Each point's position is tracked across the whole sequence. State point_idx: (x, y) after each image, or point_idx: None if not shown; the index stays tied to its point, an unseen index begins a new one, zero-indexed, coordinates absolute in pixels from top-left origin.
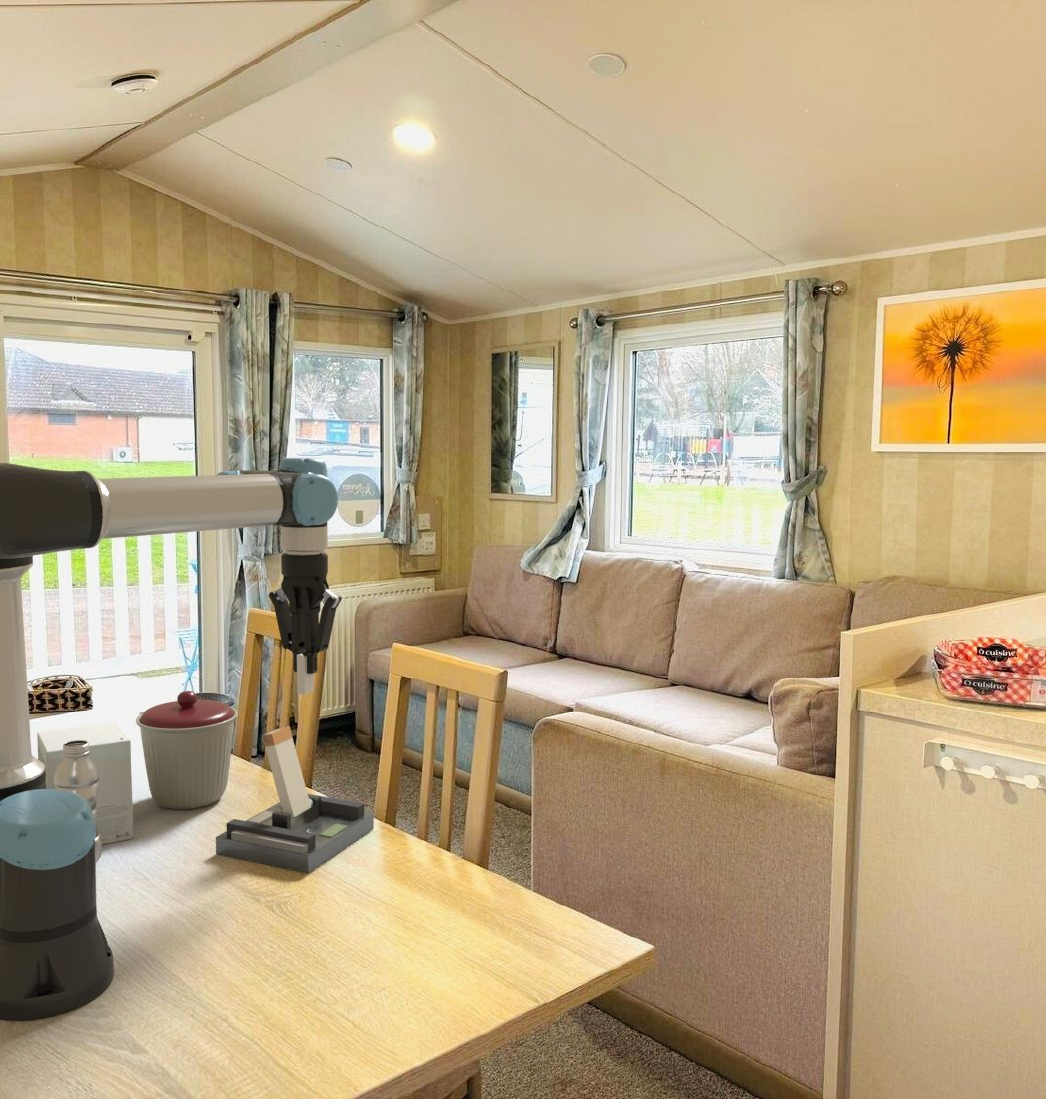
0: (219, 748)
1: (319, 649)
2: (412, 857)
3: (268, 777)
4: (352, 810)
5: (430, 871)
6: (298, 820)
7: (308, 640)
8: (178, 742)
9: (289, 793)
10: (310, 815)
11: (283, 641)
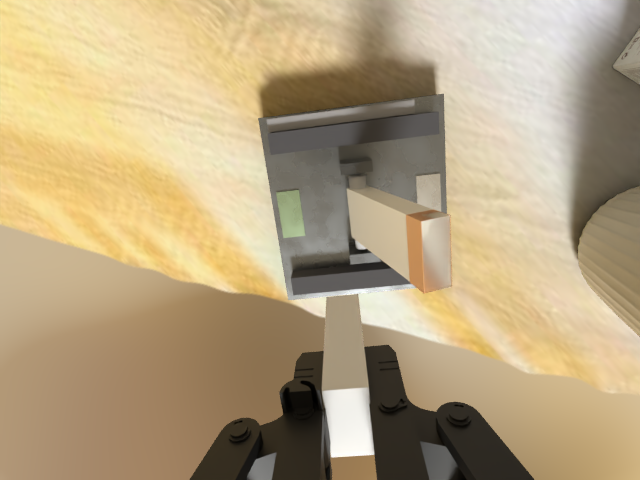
0: (629, 282)
1: (223, 433)
2: (181, 237)
3: (566, 368)
4: (302, 274)
5: (131, 213)
6: None
7: (289, 467)
8: None
9: (361, 199)
10: None
11: (480, 435)
